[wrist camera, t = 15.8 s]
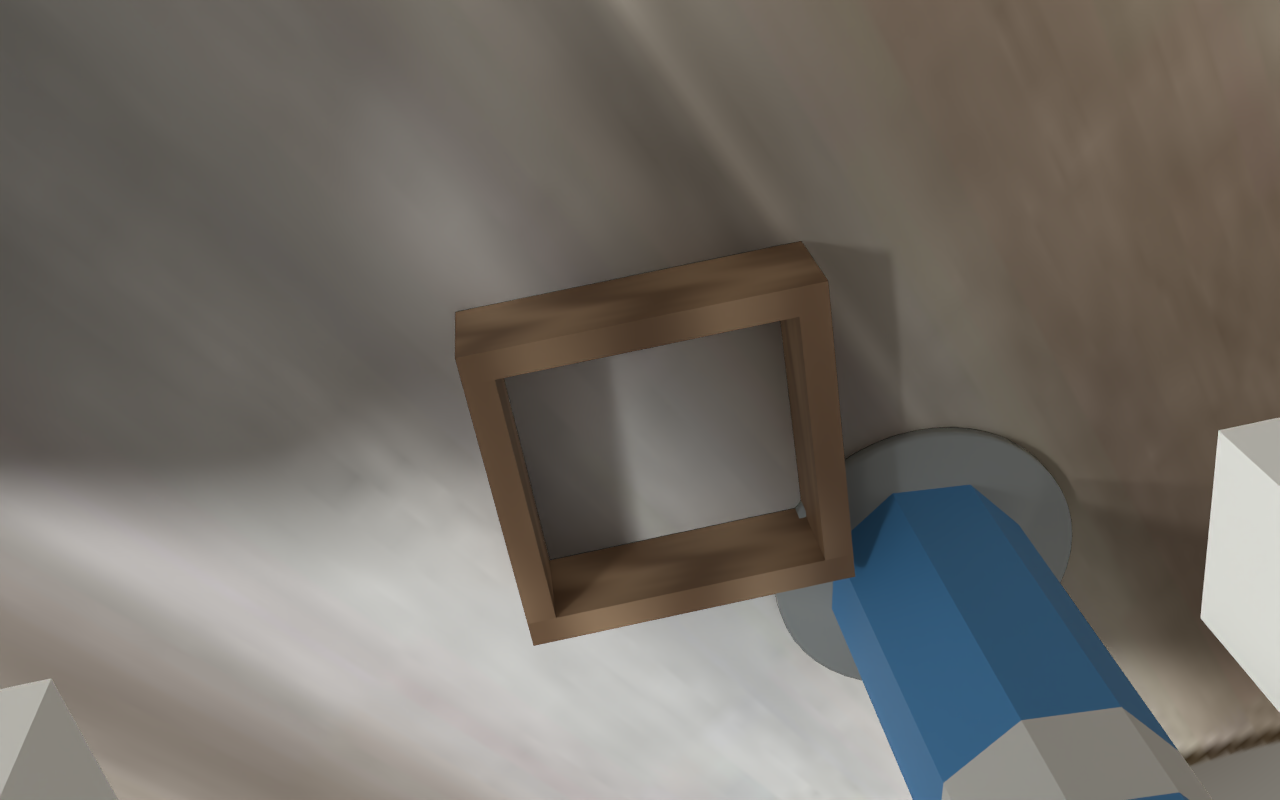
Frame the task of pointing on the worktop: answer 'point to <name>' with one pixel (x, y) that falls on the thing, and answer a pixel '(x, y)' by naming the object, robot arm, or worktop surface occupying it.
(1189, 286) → the worktop surface
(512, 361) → the square wooden frame
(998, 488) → the coaster
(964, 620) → the water bottle
